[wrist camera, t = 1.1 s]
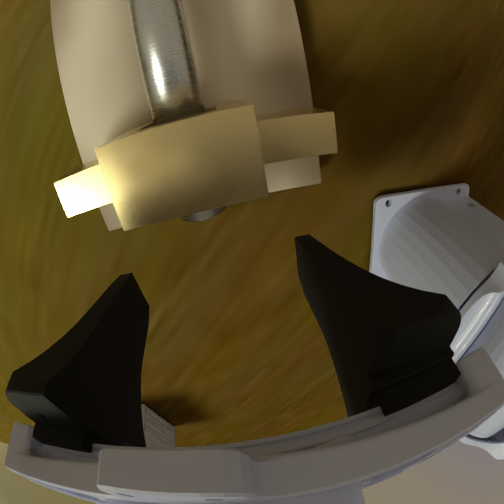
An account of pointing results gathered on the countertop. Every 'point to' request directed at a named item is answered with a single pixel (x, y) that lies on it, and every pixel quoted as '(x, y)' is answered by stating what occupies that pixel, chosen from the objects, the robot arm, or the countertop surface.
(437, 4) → the countertop surface
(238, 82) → the beige blocky piece
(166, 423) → the medicine box
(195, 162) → the wing nut
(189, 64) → the threaded rod
